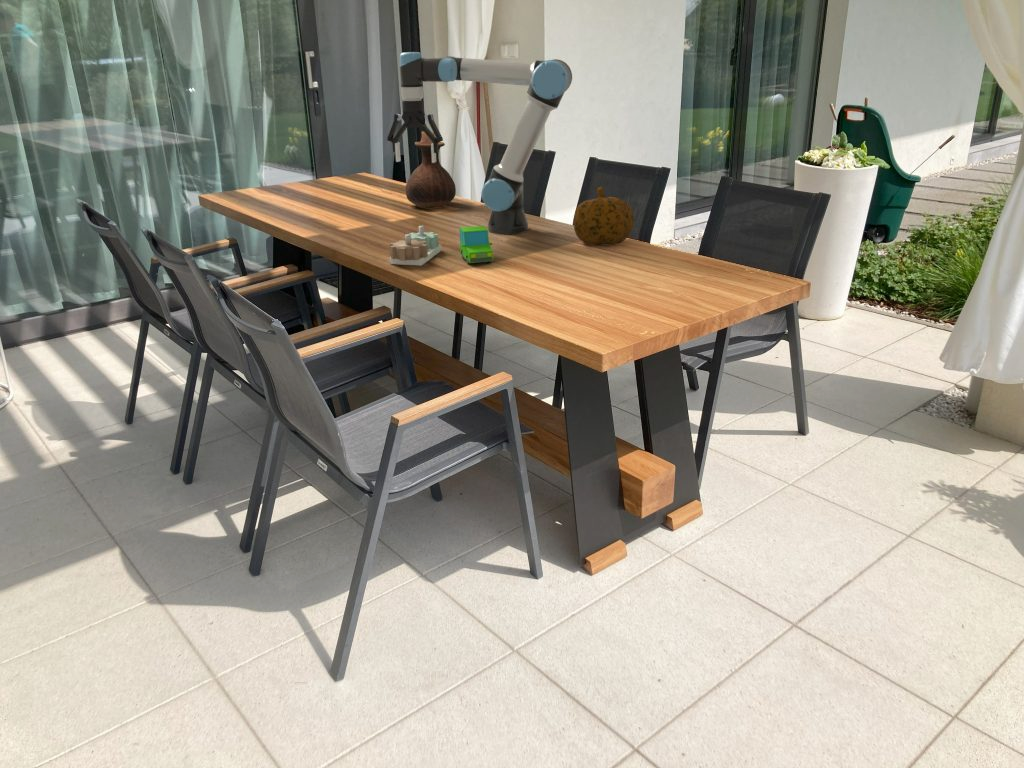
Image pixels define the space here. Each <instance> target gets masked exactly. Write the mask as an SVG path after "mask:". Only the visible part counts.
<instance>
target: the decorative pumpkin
mask: <svg viewBox="0 0 1024 768" xmlns="http://www.w3.org/2000/svg"><path fill="white" fill-rule="evenodd" d="M596 190H597V197H596V198H593V199H587V200H584V201H582V202H580V203H579V205H578V206H577V208H575V209H576V210H574V211H575V212H574V215H573V229H574V233H575V235H576V237H577V239H579V240H580V241H581V242H583V243H584V244H588V245H591V246H597V247H598V246H603V245H609V246H610V245H611V246H612V245H613V246H614V245H616V244H620V243H622V242H624V241H625V240H626V239H627V238H628V237H629V235H630V234H631V233H632V230H633V228H634V222H635V220H634V219H635V218H634V212H633V210H632V208H631V206H630V205H629V204H628V203H627V202H626V201H625V200H623V199H621V198H618V197H613V196H606V195H605V191H604V187H602V186H600V187H599V186H598V188H597V189H596Z"/></svg>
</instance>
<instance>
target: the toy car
mask: <svg viewBox="0 0 1024 768" xmlns="http://www.w3.org/2000/svg"><path fill="white" fill-rule="evenodd" d="M459 242H460V243H459V248H460V251H459V252H460V255H461V258H462V259H463V260H466V264H467V265H472V264H475V263H476V264H477V263H488V264H489V263H492V262H494V256H493V255H494V252H493V249H492V247H491V246H492V245H493V243H492V242H490V238H489V230H488V229H487V228H486V227H485V226H484V225H480V226H479V225H478V226H465V227H459Z"/></svg>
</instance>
